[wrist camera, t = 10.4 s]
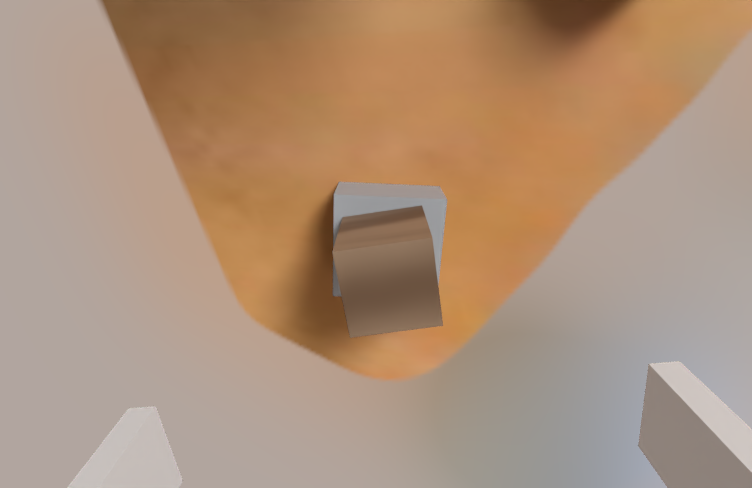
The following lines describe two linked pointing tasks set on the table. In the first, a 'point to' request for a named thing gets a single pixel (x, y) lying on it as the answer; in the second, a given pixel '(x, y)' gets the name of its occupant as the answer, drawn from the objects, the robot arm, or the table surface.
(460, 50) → the table surface
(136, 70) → the table surface
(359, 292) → the walnut block
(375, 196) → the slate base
